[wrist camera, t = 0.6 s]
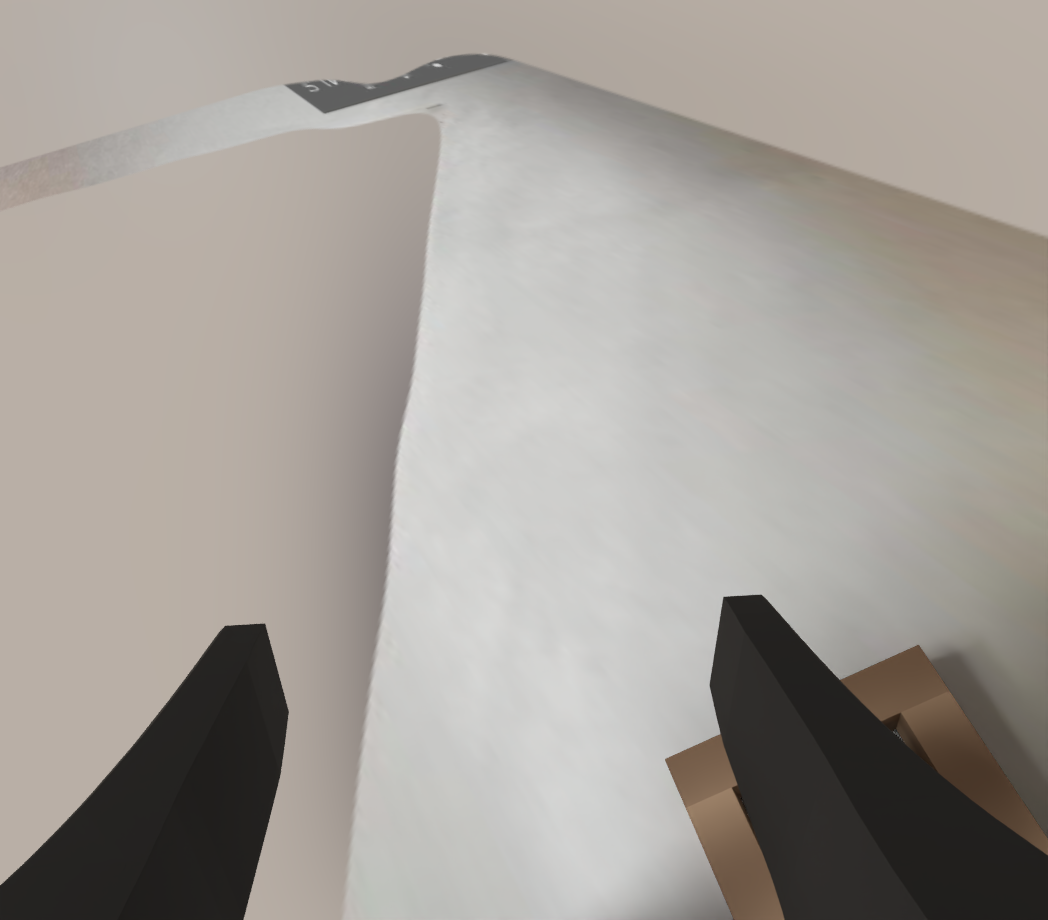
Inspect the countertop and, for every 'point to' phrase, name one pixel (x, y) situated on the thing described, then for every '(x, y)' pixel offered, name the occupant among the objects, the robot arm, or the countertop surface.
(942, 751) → the walnut holder
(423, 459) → the countertop surface
